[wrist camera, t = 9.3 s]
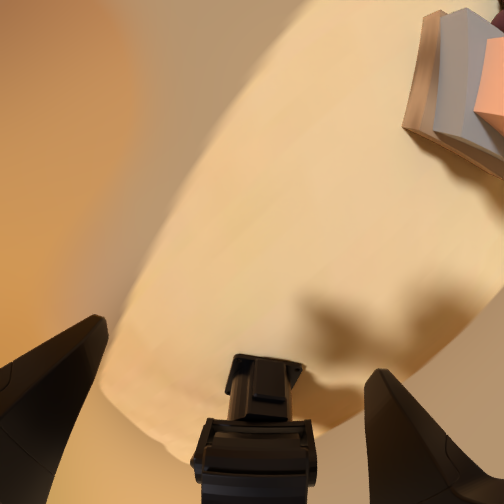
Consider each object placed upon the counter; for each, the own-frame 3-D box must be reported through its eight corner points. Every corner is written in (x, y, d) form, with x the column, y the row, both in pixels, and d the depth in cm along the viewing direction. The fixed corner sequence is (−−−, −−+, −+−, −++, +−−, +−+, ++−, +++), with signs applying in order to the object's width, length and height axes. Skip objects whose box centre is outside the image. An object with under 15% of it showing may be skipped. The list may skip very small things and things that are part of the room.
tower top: (510, 165, 13) (536, 176, 10) (432, 130, 13) (461, 137, 10) (519, 68, 9) (545, 69, 7) (440, 17, 9) (466, 7, 7)
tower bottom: (483, 170, 16) (506, 181, 14) (398, 126, 16) (419, 130, 13) (502, 76, 12) (526, 78, 10) (419, 19, 12) (440, 9, 9)
